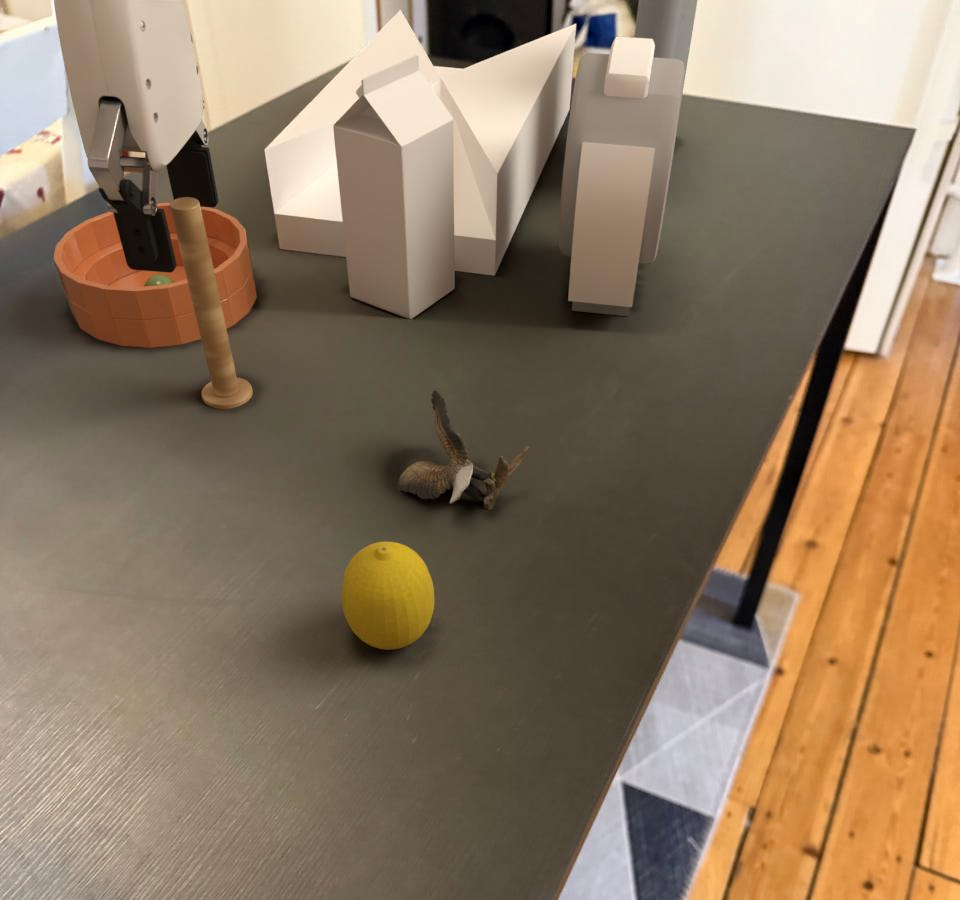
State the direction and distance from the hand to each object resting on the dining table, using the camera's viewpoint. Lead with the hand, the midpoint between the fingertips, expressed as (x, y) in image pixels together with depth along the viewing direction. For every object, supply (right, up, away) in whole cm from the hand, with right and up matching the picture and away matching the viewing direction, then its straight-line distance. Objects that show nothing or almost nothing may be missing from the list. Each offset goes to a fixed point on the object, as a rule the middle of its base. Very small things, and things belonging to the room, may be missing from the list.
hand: (176, 235), depth 64 cm
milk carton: (+14, +4, +22) cm, 27 cm away
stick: (+1, -9, +10) cm, 14 cm away
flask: (+40, +25, +41) cm, 63 cm away
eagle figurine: (+19, -18, +3) cm, 26 cm away
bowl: (-7, +2, +20) cm, 21 cm away
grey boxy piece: (+33, +5, +24) cm, 41 cm away
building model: (+17, +25, +41) cm, 51 cm away
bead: (-7, +3, +17) cm, 19 cm away
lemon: (+16, -29, -6) cm, 33 cm away
